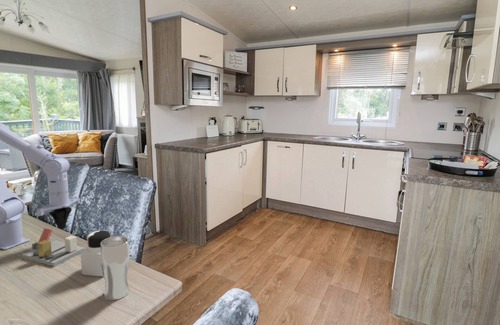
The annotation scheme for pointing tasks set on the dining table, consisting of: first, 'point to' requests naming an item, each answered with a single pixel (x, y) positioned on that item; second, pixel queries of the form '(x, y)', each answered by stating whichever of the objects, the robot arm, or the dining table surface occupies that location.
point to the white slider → (70, 243)
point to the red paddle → (44, 235)
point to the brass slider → (44, 248)
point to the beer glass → (115, 266)
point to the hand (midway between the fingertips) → (61, 227)
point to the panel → (53, 254)
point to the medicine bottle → (93, 254)
